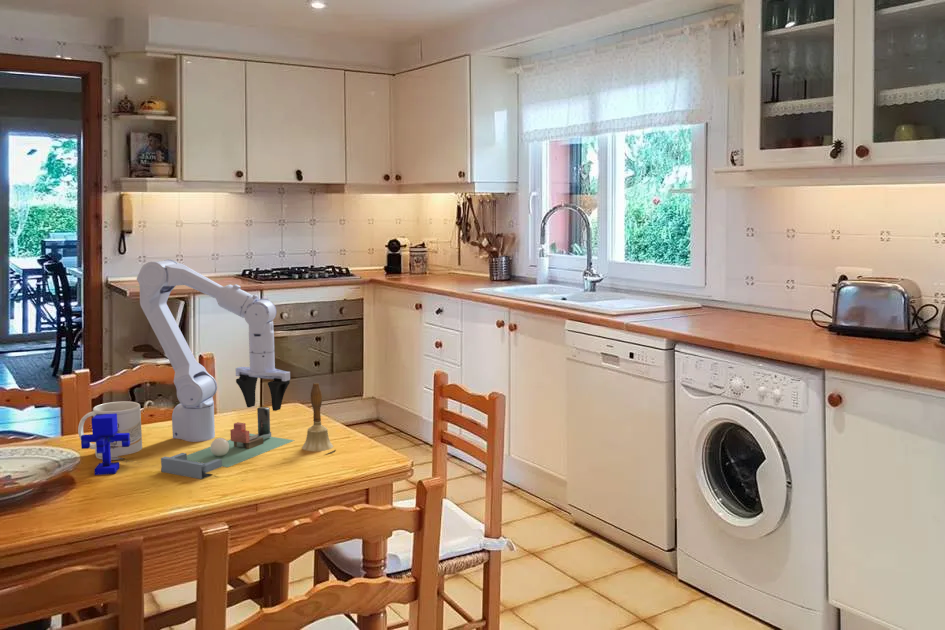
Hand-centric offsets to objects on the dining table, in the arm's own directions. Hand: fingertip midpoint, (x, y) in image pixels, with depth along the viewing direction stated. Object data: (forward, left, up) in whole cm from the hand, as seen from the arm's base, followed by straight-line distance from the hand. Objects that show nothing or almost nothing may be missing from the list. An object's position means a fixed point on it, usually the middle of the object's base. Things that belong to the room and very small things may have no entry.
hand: (263, 408), depth 198 cm
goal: (0, -24, -9) cm, 25 cm away
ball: (0, -15, -6) cm, 16 cm away
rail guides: (0, -6, -8) cm, 9 cm away
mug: (-25, -22, -9) cm, 34 cm away
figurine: (-16, -32, -9) cm, 36 cm away
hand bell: (+15, 0, -9) cm, 17 cm away
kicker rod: (0, -4, -7) cm, 8 cm away
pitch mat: (0, -9, -9) cm, 12 cm away
